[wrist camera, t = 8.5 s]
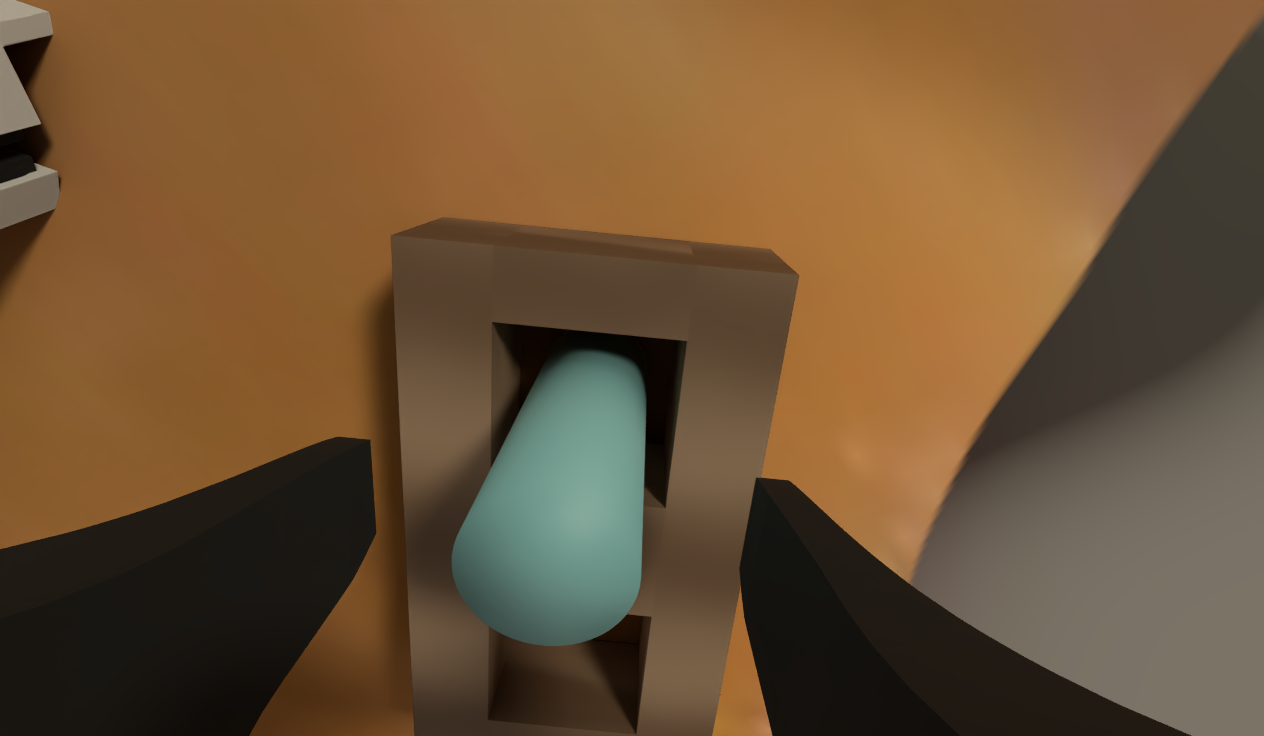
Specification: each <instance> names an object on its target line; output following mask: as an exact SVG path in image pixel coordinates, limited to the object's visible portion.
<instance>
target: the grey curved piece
mask: <svg viewBox="0 0 1264 736" xmlns="http://www.w3.org/2000/svg"><path fill="white" fill-rule="evenodd" d="M50 35H53V30H52V24H51V18H50V14H49V12H48V11H45V10H42V9H39V8H36V7H33V6H31V5H28V4H25V3H22V2H19V1H16V0H0V229H2V228H5V227H8V226H10V225H13V224H16V223H18V222H21V221H24V220H26V219H29V218H32V217H34V216H37V215H40V214H42V213H45V212H48V211H51V210H53V209H55V208H56V205H57V201H58V198H59V194H60V190H59V180H58V172H57V171H55V170H52V169H50V168H47V167H44V166H41V165H38V164H36V163H34V162H33V159H32V157H31V156H29V155H26V154H23V153H20V152H17V151H14V150H11V149H8V148H5V147H2V146H3V145H7V144H11V143H14V142H18V141H21V140H25V137H24V134H23V132H22V129H24V128H27V127H31V126H35V125H39V124H41V122H40V120H39V118H38V116H37V114H36V112H35V110H34V108H33V106H32V104H31V102H30V100H29V98H28V96H27V94H26V92H25V90H24V88H23V86H22V84H21V82H20V80H19V78H18V76H17V74H16V72H15V70H14V68H13V66H12V64H11V62H10V60H9V58H8V56H7V54H6V52H5V50H4V48H3V47H4V46H8V45H13V44H17V43H21V42H25V41H29V40H33V39H37V38H42V37H46V36H50Z"/></svg>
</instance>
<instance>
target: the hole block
mask: <svg viewBox="0 0 1264 736" xmlns="http://www.w3.org/2000/svg"><path fill="white" fill-rule="evenodd" d="M391 250H392V271H393V292H394V313H395V334H396V355H397V376H398V397H399V419H400V440H401V461H402V482H403V503H404V524H405V545H406V566H407V587H408V608H409V629H410V650H411V671H412V692H413V713H414V734H415V736H712V733H713V728H714V723H715V717H716V712H717V707H718V701H719V696H720V691H721V686H722V680H723V675H724V670H725V664H726V659H727V654H728V649H729V643H730V638H731V633H732V627H733V622H734V617H735V612H736V606H737V601H738V596H739V590H740V585H741V582H740V572H739V567H740V561H741V556H742V550H743V545H744V539H745V534H746V529H747V523H748V518H749V512H750V507H751V502H752V496H753V491H754V485H755V480H756V477H757V478H761V474H762V469H763V464H764V458H765V453H766V448H767V443H768V437H769V432H770V427H771V421H772V416H773V411H774V406H775V400H776V395H777V390H778V384H779V379H780V374H781V369H782V363H783V358H784V353H785V348H786V342H787V337H788V332H789V326H790V321H791V316H792V311H793V305H794V300H795V295H796V289H797V284H798V279H799V275H798V274H797V273H796V272H795V271H794V270H793V269H792V268H791V267H790V266H788V265H787V264H786V263H785V262H784V261H783V260H782V259H781V258H780V257H778V256H777V255H776V254H775V253H774V252H773V251H772V250H771V249H762V248H751V247H741V246H731V245H721V244H710V243H700V242H690V241H680V240H669V239H659V238H649V237H639V236H628V235H618V234H608V233H597V232H587V231H577V230H567V229H556V228H546V227H536V226H526V225H515V224H505V223H495V222H485V221H474V220H464V219H454V218H444V217H443V218H440V219H437V220H434V221H431V222H428V223H426V224H423V225H420V226H417V227H414V228H411V229H408V230H405V231H402V232H399V233H396V234H394V235H391ZM522 325H528V326H539V327H549V328H559V329H569V330H580V331H590V332H600V333H610V334H621V335H631V336H641V337H651V338H661V339H672V340H676V349H675V357H674V365H673V373H672V381H671V389H670V398H669V406H668V414H667V422H666V430H665V438H664V445H663V444H653V443H645V467H644V500H643V533H642V566H641V582H640V588H639V592H638V595H637V598H636V600H635V602H634V604H633V606H632V608H631V609H630V610H629V612H628V613H627V614H629V615H640V616H643V618H642V626H641V634H640V643H639V645H637V644H627V643H617V642H607V641H596V640H588V641H585V642H582V643H577V644H572V645H564V646H543V645H534V644H530V643H525V642H522V641H518V640H515V639H512V638H510V637H508V636H506V635H503V634H501V633H499V632H498V631H496V630H494V629H492V628H491V627H489V626H488V625H487V624H485V623H484V622H483V621H481V620H480V619H479V618H478V617H477V616H476V615H475V614H474V613H473V612H472V611H471V610H470V608H469V607H468V606H467V605H466V603H465V602H464V600H463V599H462V597H461V595H460V593H459V591H458V589H457V587H456V584H455V581H454V577H453V572H452V552H453V546H454V543H455V540H456V537H457V535H458V533H459V531H460V529H461V527H462V525H463V523H464V521H465V519H466V517H467V515H468V513H469V511H470V509H471V507H472V505H473V503H474V501H475V499H476V497H477V495H478V493H479V491H480V489H481V487H482V485H483V483H484V481H485V479H486V477H487V475H488V473H489V471H490V469H491V467H492V465H493V463H494V461H495V459H496V457H497V455H498V454H499V452H500V450H501V448H502V446H503V444H504V442H505V440H506V438H507V436H508V434H509V432H510V430H511V428H512V426H513V424H514V422H515V420H516V418H517V416H518V414H519V412H520V380H521V345H522Z"/></svg>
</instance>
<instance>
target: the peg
mask: <svg viewBox="0 0 1264 736" xmlns="http://www.w3.org/2000/svg"><path fill="white" fill-rule="evenodd" d="M646 401H647V363H646V359H645V356H644V354H643V351H642V349H641V348H640V346H639V345H638V343H637V342H636V341H635V340H634V339H633V338H632V337H631V336H630V335H621V334H610V333H600V332H590V331H580V330H568V331H566V332H565V333H564V334H563V335H561V336H560V337H559V338H558V340H557V341H556V342H555V343H554V345H553V347H552V349H551V350H550V352H549V354H548V356H547V358H546V360H545V362H544V364H543V366H542V368H541V370H540V372H539V374H538V376H537V378H536V380H535V382H534V384H533V386H532V388H531V390H530V392H529V394H528V396H527V398H526V400H525V402H524V404H523V406H522V408H521V410H520V412H519V414H518V416H517V418H516V420H515V422H514V424H513V426H512V428H511V430H510V432H509V434H508V436H507V438H506V440H505V442H504V444H503V446H502V448H501V450H500V452H499V454H498V455H497V457H496V459H495V461H494V463H493V465H492V467H491V469H490V471H489V473H488V475H487V477H486V479H485V481H484V483H483V485H482V487H481V489H480V491H479V493H478V495H477V497H476V499H475V501H474V503H473V505H472V507H471V509H470V511H469V513H468V515H467V517H466V519H465V521H464V523H463V525H462V527H461V529H460V531H459V533H458V535H457V537H456V540H455V543H454V546H453V552H452V572H453V577H454V581H455V584H456V587H457V589H458V591H459V593H460V595H461V597H462V599H463V600H464V602H465V603H466V605H467V606H468V607H469V608H470V610H471V611H472V612H473V613H474V614H475V615H476V616H477V617H478V618H479V619H480V620H481V621H483V622H484V623H485V624H487V625H488V626H489V627H491V628H492V629H494V630H496V631H498V632H499V633H501V634H503V635H506V636H508V637H510V638H512V639H515V640H518V641H522V642H525V643H530V644H534V645H543V646H564V645H572V644H577V643H582V642H585V641H588V640H591V639H593V638H596V637H598V636H600V635H602V634H604V633H605V632H607V631H609V630H610V629H612V628H613V627H614V626H615V625H617V624H618V623H619V622H620V621H621V620H622V619H623V618H624V617H625V616H626V615H627V613H628V612H629V610H630V609H631V608H632V606H633V604H634V602H635V600H636V598H637V595H638V592H639V588H640V582H641V566H642V533H643V500H644V467H645V434H646Z"/></svg>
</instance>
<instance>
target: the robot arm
mask: <svg viewBox="0 0 1264 736" xmlns="http://www.w3.org/2000/svg"><path fill="white" fill-rule="evenodd" d="M375 535H376V521H375V506H374V490H373V475H372V459H371V444H370V440H366V439H356V438H346V437H335V438H332V439H328V440H325V441H322V442H319V443H316V444H314V445H311V446H308V447H306V448H303V449H301V450H298V451H296V452H293V453H291V454H288V455H286V456H283V457H281V458H278V459H276V460H273V461H271V462H269V463H266V464H264V465H261V466H259V467H256V468H254V469H252V470H249V471H247V472H244V473H242V474H239V475H237V476H234V477H232V478H229V479H227V480H224V481H222V482H219V483H216V484H214V485H211V486H208V487H206V488H203V489H200V490H198V491H195V492H192V493H190V494H187V495H184V496H182V497H179V498H176V499H174V500H171V501H168V502H166V503H163V504H160V505H157V506H154V507H151V508H148V509H145V510H142V511H139V512H136V513H133V514H130V515H127V516H123V517H120V518H117V519H113V520H110V521H107V522H103V523H100V524H97V525H93V526H90V527H87V528H83V529H80V530H76V531H72V532H69V533H65V534H61V535H57V536H53V537H48V538H44V539H40V540H36V541H32V542H28V543H24V544H20V545H16V546H12V547H8V548H4V549H0V736H249V735H250V733H251V731H252V729H253V728H254V726H255V724H256V722H257V720H258V719H259V717H260V715H261V713H262V712H263V710H264V709H265V707H266V706H267V704H268V703H269V701H270V699H271V698H272V696H273V695H274V693H275V692H276V690H277V689H278V687H279V686H280V684H281V683H282V681H283V680H284V678H285V677H286V676H287V674H288V673H289V671H290V670H291V668H292V667H293V666H294V664H295V663H296V661H297V660H298V658H299V657H300V656H301V654H302V653H303V651H304V650H305V648H306V647H307V646H308V644H309V643H310V641H311V640H312V638H313V637H314V636H315V634H316V633H317V631H318V630H319V628H320V627H321V626H322V624H323V623H324V621H325V620H326V618H327V617H328V615H329V614H330V613H331V611H332V610H333V608H334V607H335V605H336V604H337V602H338V601H339V599H340V598H341V597H342V595H343V594H344V592H345V591H346V589H347V588H348V586H349V585H350V583H351V582H352V580H353V578H354V576H355V575H356V573H357V571H358V569H359V567H360V565H361V563H362V561H363V559H364V557H365V555H366V553H367V551H368V549H369V547H370V545H371V543H372V541H373V539H374V537H375ZM739 572H740V582H741V592H742V602H743V610H744V618H745V623H746V627H747V631H748V636H749V640H750V644H751V648H752V653H753V657H754V661H755V665H756V669H757V673H758V677H759V682H760V686H761V690H762V694H763V698H764V702H765V706H766V710H767V714H768V719H769V723H770V727H771V731H772V735H773V736H1191V735H1189V734H1186V733H1184V732H1182V731H1179V730H1177V729H1174V728H1172V727H1170V726H1168V725H1165V724H1163V723H1161V722H1158V721H1156V720H1153V719H1151V718H1149V717H1147V716H1144V715H1142V714H1140V713H1137V712H1135V711H1132V710H1130V709H1128V708H1126V707H1123V706H1121V705H1119V704H1117V703H1114V702H1112V701H1110V700H1108V699H1106V698H1104V697H1102V696H1100V695H1098V694H1096V693H1094V692H1092V691H1090V690H1088V689H1086V688H1084V687H1082V686H1080V685H1078V684H1076V683H1074V682H1072V681H1070V680H1068V679H1066V678H1063V677H1061V676H1059V675H1057V674H1055V673H1054V672H1052V671H1050V670H1048V669H1046V668H1044V667H1042V666H1040V665H1039V664H1037V663H1035V662H1033V661H1031V660H1029V659H1027V658H1025V657H1024V656H1022V655H1020V654H1018V653H1017V652H1015V651H1013V650H1011V649H1010V648H1008V647H1006V646H1004V645H1003V644H1001V643H999V642H998V641H996V640H994V639H992V638H990V637H989V636H987V635H985V634H984V633H982V632H980V631H979V630H977V629H976V628H974V627H972V626H971V625H969V624H967V623H966V622H964V621H963V620H961V619H960V618H958V617H956V616H955V615H953V614H952V613H950V612H949V611H948V610H946V609H945V608H943V607H942V606H940V605H939V604H937V603H936V602H934V601H933V600H931V599H930V598H928V597H927V596H925V595H924V594H923V593H921V592H920V591H918V590H917V589H916V588H914V587H913V586H911V585H910V584H909V583H907V582H906V581H905V580H903V579H902V578H901V577H900V576H898V575H897V574H896V573H894V572H893V571H892V570H891V569H889V568H888V567H887V566H886V565H884V564H883V563H882V562H881V561H879V560H878V559H877V558H876V557H874V556H873V555H872V554H871V553H870V552H868V551H867V550H866V549H865V548H864V547H862V546H861V545H860V544H859V543H858V542H857V541H856V540H854V539H853V538H852V537H851V536H850V535H849V534H848V533H846V532H845V531H844V530H843V529H842V528H841V527H840V526H839V525H838V524H836V523H835V522H834V521H833V520H832V519H831V518H830V517H829V516H828V515H827V514H826V513H825V512H823V511H822V510H821V509H820V508H819V507H818V506H817V505H816V504H815V503H814V502H813V501H812V500H811V499H809V498H808V497H807V496H806V495H805V494H804V493H803V492H802V491H801V490H800V489H798V488H797V487H796V486H795V485H794V484H793V483H791V482H790V481H788V480H778V479H768V478H757V477H756V480H755V485H754V491H753V496H752V502H751V507H750V512H749V518H748V523H747V529H746V534H745V539H744V545H743V550H742V556H741V561H740V567H739Z"/></svg>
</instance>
